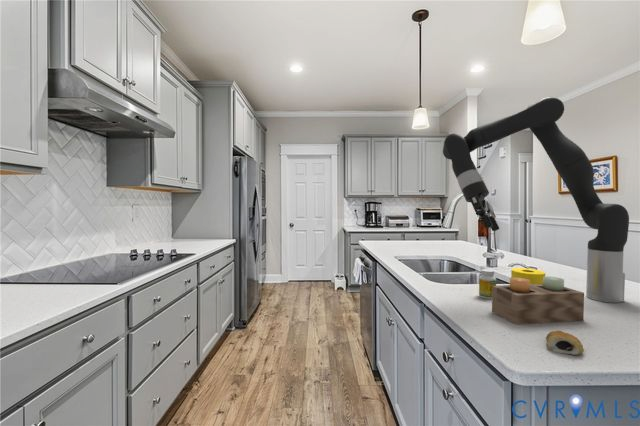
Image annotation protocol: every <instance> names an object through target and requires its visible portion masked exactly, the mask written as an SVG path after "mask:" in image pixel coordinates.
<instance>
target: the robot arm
mask: <svg viewBox="0 0 640 426" xmlns="http://www.w3.org/2000/svg"><path fill="white" fill-rule="evenodd" d="M564 111H565V105H564V103H563V101H562V100H561V99H559V98H557V97H554V96H553V97H552V96H548V97H544V98H541V99H539V100H537V101H535V102H533V103H531V104H529V105H528V106H527V107H526V108H525V109H522V110H521V111H519V112H517V113H514V114H511V115H508V116H505V117H502V118H501V119H497V120H494V121H491V122H489V123H486V124H483V125H481V126H477V127H476V128H473V129H471V130H470V131H468V132H467V134H466V135H465V136H463V135H462V134H461V133H460V134H459V133H455V132H454V133H451V134H449V135H447V136H446V137H445V140H444V141H443V147H442V155H443V156H444V157H445V159H448V160H451V168H452V171H453V173H454V176H455V177H456V180H457V183H458V187H459V189H460V190H461V193H462V195H463V197H464V199H465V202H467V203H471V206H472V208H473V210H474V213H475V215H476V216H478V217H479V219H480V220H481V223H482V224H483V226H484V228H485V229H491V231H492V232H496V231H498V230H500V226H499V224H498V223H497V220H496V217H497V215H496V214H495V213H494V210H493V209H492V207H491V205H490V202H489V201H488V200H486V199H485V198H486V197H488V196H489V194H490V190H489V189H488V187H487V185H486V183H485V181H484V179H483V177H482V175H481V174H480V172H479V171H478V169H477V167H476V165H475V163H474V161H473V159H472V157H471V153H472V152H474V151H475V150H477V149H478V148H482V147H485V146H488V145H490V144H492V143H495V142H498V141H500V140H503V139H504V138H507V137H509V136H512V135H514V134H516V133H519V132H521V131H524V130H526V129H530V131H531V132H532V133H533V135H534V136H535V138H537V140H538V141H539V143H540V144H541V146H542V148H543V149H544V151H545V153H546V155H547V156H548V158H549V159H550V161H551V162H552V164H553V166H554V168H555V170H556V172H557V173H558V175H559V176H560V178H561V180H562V181H563V183H564V184H565V186H566V188H567V190H568V191H569V194H570V195H571V196H572V198H573V201H574V202H575V205H576V206H577V207H576V208H577V209H578V212H579V214H580V216H581V218H582V220H583V222H584V224H586V225H587V226H588V228H590V229H593V230H597V235H596V237H594V238H593V239H590V240H589V241H587V260H586V261H587V262H586V292H585V293H586V295H585V296H586V297H587V298H589V299H590V300H591V299H592V300H595V301H598V302H599V301H600V302H606V303H617V304H618V303H622V302H623V301H625V290H626V289H625V286H626V284H625V283H626V281H625V280H626V274H625V272H624V248H625V246H626V244H627V242H628V238H629V237H628V236H629V228H630V227H629V226H630V225H629V224H630V216H629V215H630V214H629V212H628V210H627V209H626V207H625V206H623V205H621V204H618V203H603V202H602V200H601V198H600V197H599V195H598V194H597V192H596V190H595V185H594V179H595V178H594V174H595V173H594V171H595V170H594V167H593V165H592V163H591V161H590V159H589V157H588V156H587V154H586V152H585V151H584V150H583V149H582V148H581V147H580V146H579V145H578V144H577V143H575V142H574V141H573V140H572V139H570V138H568V136H566V135H565V134H564V133H563V132H562V131H561V130H560V128H559V127H558V124H557V123H556V122H557V121H559V120H560V119H561V117H562V116H563V114H564V113H565V112H564ZM489 215H490V216H489Z"/></svg>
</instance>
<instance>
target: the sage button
mask: <svg viewBox="0 0 640 426" xmlns="http://www.w3.org/2000/svg"><path fill="white" fill-rule="evenodd" d="M564 287H565V278H564V279H563V278H561V277H555V276H545V277H543V288H545V289H548V290H554V291H563V290H564Z"/></svg>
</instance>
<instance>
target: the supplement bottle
mask: <svg viewBox="0 0 640 426" xmlns="http://www.w3.org/2000/svg"><path fill="white" fill-rule="evenodd" d="M494 275H495V270H493V269H488V268H487V269H486V268H485V269H484V268H483V269H481V275H480V276H479V277H478V285H479V286H478V296H479V297H480V298H481V299H486V300H492V286H497V277H496V276H494Z"/></svg>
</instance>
